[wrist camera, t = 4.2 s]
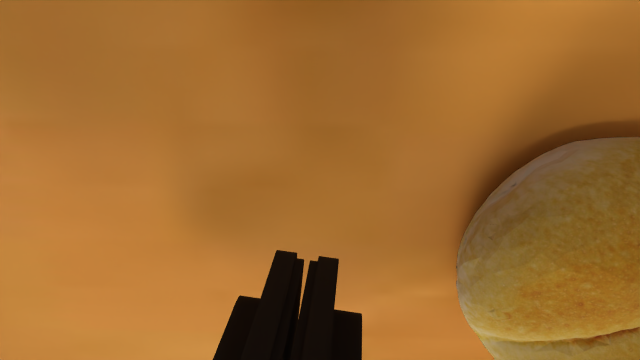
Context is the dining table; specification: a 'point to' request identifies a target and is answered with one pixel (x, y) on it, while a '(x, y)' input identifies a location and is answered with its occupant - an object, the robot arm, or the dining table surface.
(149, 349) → the dining table surface
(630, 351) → the bread roll
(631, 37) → the dining table surface
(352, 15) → the dining table surface
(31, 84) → the dining table surface
